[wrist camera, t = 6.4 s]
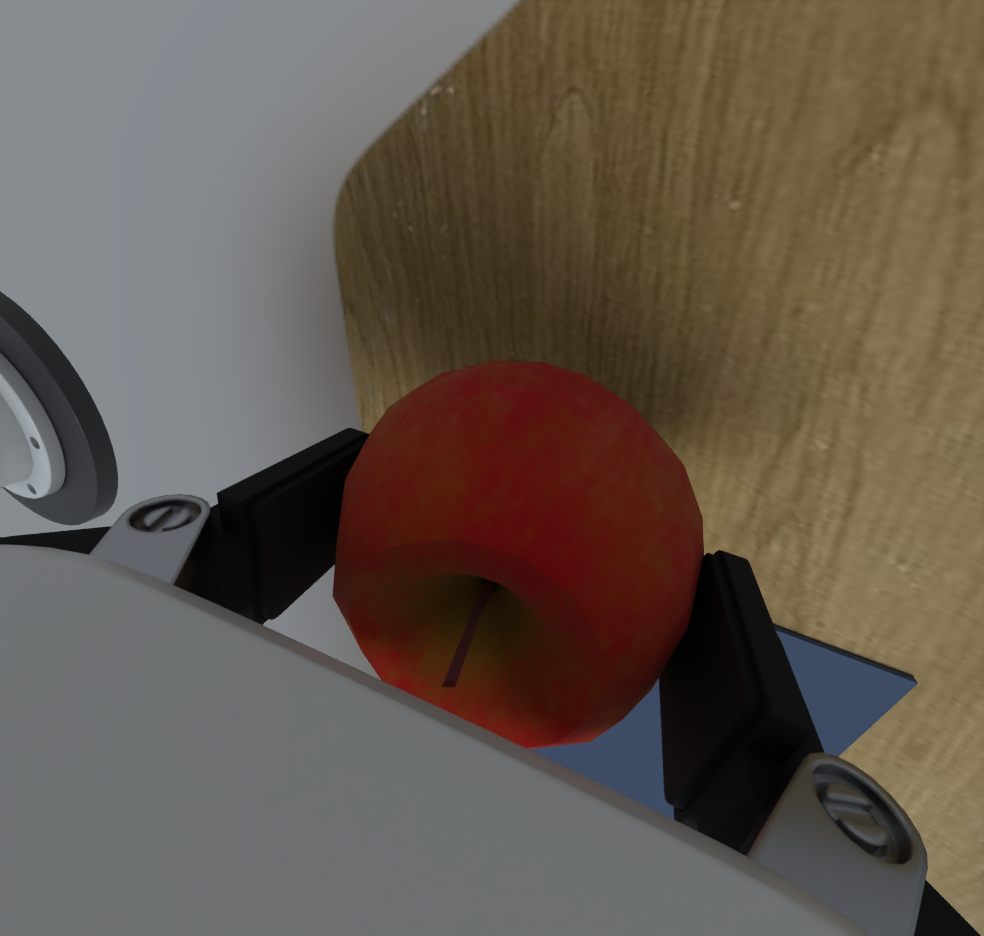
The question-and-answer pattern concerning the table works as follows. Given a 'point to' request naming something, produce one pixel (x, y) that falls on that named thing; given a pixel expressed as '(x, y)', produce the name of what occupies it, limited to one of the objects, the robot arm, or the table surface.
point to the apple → (519, 551)
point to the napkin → (824, 686)
